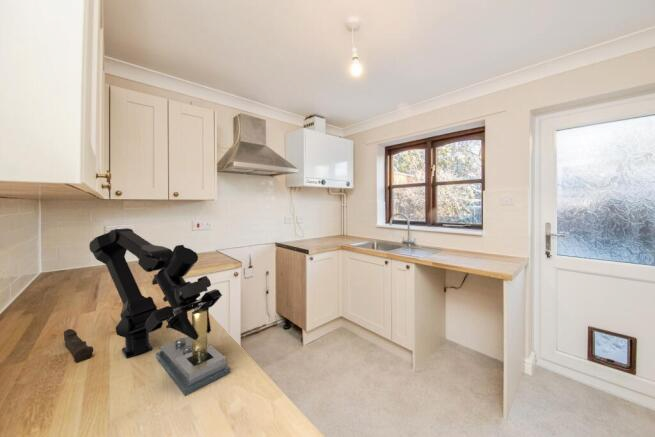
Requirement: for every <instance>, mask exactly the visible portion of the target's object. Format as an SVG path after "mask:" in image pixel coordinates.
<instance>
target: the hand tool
mask: <svg viewBox="0 0 655 437" xmlns="http://www.w3.org/2000/svg"><path fill="white" fill-rule="evenodd" d="M63 337H64V339H63V340H64V344H65V348H67V349H68V351H69V352H70V353H71V355H72V356H73V361H74V363H76V364H78V363H82V362H84V361H87V360H89V359H91V358H92V356H93V352H94V347H93V346H91V345H90V346H89V345H87V341H85V340H84V341H83V340H82V339H81V337H80V336H78V333H77V331H76V330H74V329H72V328H68V329H65V330H64V331H63Z"/></svg>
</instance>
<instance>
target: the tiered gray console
mask: <svg viewBox="0 0 655 437" xmlns="http://www.w3.org/2000/svg"><path fill="white" fill-rule="evenodd" d="M155 359H156V361H158V363H159V364H160V365H161V366H162V368H163V369H164V371H165V373H166V374H167V375H168V376H169V377H170V379H171V380H172V381H173V382H174V384H175V385H176V386H177V388H178V389H179V391H180V392H181V393H182V394H183V396H184V397H186V396H188V395H190V394H191V393H193V392H195V391H197V390H199V389H201V388H203V387H205V386H207V385H210V384H211V383H213V382H215V381H217V380H219V379H220V378H223V377H225V376H227V375H229V374H230V373H231V367H230V366H229V365H228V364H227V357H226V356H224V355H223V354H222V353H221V352H219V351H218V349H216V348H215V347H214V346H212V345H211V344H209V345H208V344H207V359H206V360H205V361H203V362H201V363H193V362H192V338H190V337H188V336H186V337H180V338H178V339H175V341H172V342H169V343H167V344H164V345H162V346H161V345H160V346H159V352H155Z"/></svg>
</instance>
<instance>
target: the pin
mask: <svg viewBox="0 0 655 437" xmlns="http://www.w3.org/2000/svg"><path fill="white" fill-rule="evenodd" d="M191 324H192V326H193V328H194V329H195V331H196V333H197V335H198V339H197V340H194V339H192V362H193V363H201V362H203V361H205V360H206V359H207V346H208V333H207V310H205V309H199V310H195V311H194V310H193V311H192V312H191Z"/></svg>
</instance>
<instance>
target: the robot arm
mask: <svg viewBox="0 0 655 437" xmlns="http://www.w3.org/2000/svg"><path fill="white" fill-rule="evenodd" d="M89 251H90V252H91V253H92V254H93V256H94V258H95V259H96V260H97V261H99V262H100V263H103V264H104V265H105V266H106V267H107V270H108V272H109V275H110V278H111V279H112V282H113V284H114V286H115V289H116V290H117V293H118V295H119V297H120V299H121V302H122V304H123V305H122V308H121V310H120V311H121V312H120V315H119V316H120V318H121V319H120V321H119V322H118V324H117V325H116V326H115V332H116V335H117V336H120V337H122V338H124V342H125V343H124V344H125V347H123V348H122V349H121V351H122V354H123V355H124V357H125V358H126V359H128V358H131V357H134V356H138V355H141V354H144V353H146V352H149V351H152V350H153V346H152V344H151V343H150V337H149V335H150V334H151V333H153V332H155V331H157V330H161V328H162V326H163V325H164V322H165V321H166V323H167V325H166V326H165V328H166V330H168V329H172V330H174V331H177V332H179V333H181V334H183V335H185V336H186V337H190V338H192V339H194V340H197V339H198V335H197V333H196V331H195V329H194V328H193V326H192V322H191V321H190V320H189V318H188V317H189V316H188V314H189V313H188V312H190V311H192V310H193V311H195V310H199V309H205V310H207V334H210V333H211V331H212V327H211V323H210V322H211V321H210V316H209V309H210V308H212V307H213V306H214V305H215V304H216V303H217V302H218V301H219V300H220V299H221V297H222V296H223V294H222V293H221V291H220V290H219V289H215V288H214V289H211V290H208V288H210V287H211V286H212V283H211V280H210V279H209V277H208V276H207V275H204V276H201V277H199V278H197V281H194V282H192V281H191V282H190V281H186V280H185V278H184V277H185V276H187V274H188V273H189V272H190V271H191V269H192V268H193V266H195V264H196V263H197V262H198V260H199V256H198V254H197V252H196V251H194V250H192V249H191V248H189V247H185V246H184V244H178V245H175V246H174V247H173V250H172V249H170V248H169V247H166V246H161V245H156V244H152V243H151V242H149V241H148V240H146V239H145V238H143V237H141V236H140V235H138V234H137V233H135V231H134V230H133V229H131V228H128V227H126V228H114V229H112V230H110V231H108V232H107V233H104V234H101V235H99V236H96V237H94V238H93V239H92V240H91V241H90V242H89ZM127 251H128V252H129V253H130V254H132V255H134V256H135V257H136V258H137V259H138V265H139V266H140V267H141V268H142V269H143V271H145V272H146V273H151V272H156V271H158V272H157V273H156V274H153V279H152V282H151V284H152V285H153V286H155V285H158V287H159V288H160V290H161V292H162V294H163V295H164V297H163V298H162V300H163V302H164V303H165V302H168V304H169V305H167V306H164V307H161V308H158V306H157V305H156V303H155V302H154V299H153V298H152V297H151V296H147V297H146V296H144V295H143V294H142V292H141V290H140V288H139V285H138V283H137V281H136V279H135V276H134V274H133V272H132V270H131V267H130V266H129V264H128V262H127V260H126V258H125V257H126V254H127ZM203 292H204V294H203V295H202V296H201V294H202V293H203ZM200 296H201V297H200ZM199 297H200V298H199ZM198 298H199V299H198Z"/></svg>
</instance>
